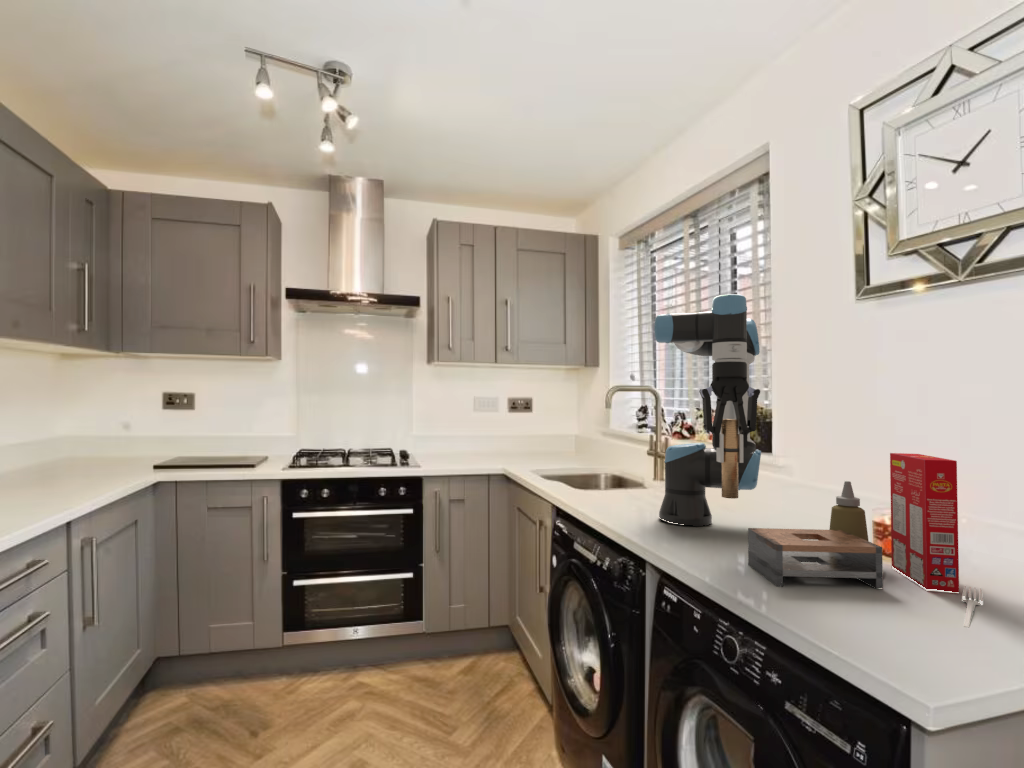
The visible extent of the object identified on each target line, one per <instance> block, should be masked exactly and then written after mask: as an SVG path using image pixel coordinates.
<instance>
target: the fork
mask: <svg viewBox="0 0 1024 768" xmlns="http://www.w3.org/2000/svg"><path fill="white" fill-rule="evenodd" d="M978 595H979V596H978V601H979V600H981V601H983V600H984V596H983V589H982V588H981V587H980V588H979V594H978ZM962 596H966V597H967V598H968V597H969V598H971V600H968V599H966V600H963V601H964V602H966V603H965V604H966V607H967V608H966V609H965V615H966V616H964V623H963V627H965V628H970V626H971V621H972V619H973V616H972V615H974V613H973V611H975V608H976V606H979V605H981V604H980V603H978V601H977V587H976V586H974V588H973V597H972V586H969V587H968V595H967V585H964V587H963V590H962V594H961V597H962ZM972 598H974V599H976V601H973V599H972ZM964 602H963V603H964ZM981 606H982V605H981ZM971 618H972V619H971Z"/></svg>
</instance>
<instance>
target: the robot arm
mask: <svg viewBox="0 0 1024 768" xmlns="http://www.w3.org/2000/svg"><path fill="white" fill-rule="evenodd" d="M711 307H712V308H711V311H703V312H702V311H701V312H687V313H682V312H681V313H665V314H659V315H656V317H655V318H654V330H653V331H654V339H655V341H656V342H657V343H659V344H660V343H661V344H671V343H672V344H674V346H675V347H676V348H677V349H678V350H679V351H681V352H683V353H686V354H691V355H695V356H700V357H711V359H712V361H713V363H712V365H711V367H712V369H711V371H712V372H711V373H712V377H711V378H712V381H711V382H710V386H707V387H704V388H699V393H700V396H701V400H702V419H703V420H702V421H703V430H704V431H707V432H710V433H711V435H712V441H711V442H712V443H711V445H712V447H713V448H710V447H707V446H706V444H705V443H704V442H693V443H682V444H676V445H669V446H668V447H667V448H666V450H665V457H664V497H663V499H662V502H661V505H660V507H659V508H660V509H659V510H658V511H659V512H658V518H659V517H660V518H661V519H664V520H666V521H669V522H673V523H678V524H684V525H693V526H692V527H703V525H705V526H709V524H710V525H711V524H712V523H713V521H712V520H713V519H712V518H713V516H712V512H711V509H710V507H709V503H708V500H707V498H706V497H707V496H706V488H709V489H710V488H711V489H722V463H724V434H721V425H722V420H723V419H737V420H738V448H739V452H738V491H751V490H752V491H753V490H755V489H756V488H757V486H758V481H759V473H760V463H761V457H762V450H759V449H757V448H756V446H757V445H756V444H757V443H755V441H753V440H752V439H751V433H752V432H756V430H757V418H758V417H757V416H758V398H759V397H760V394H761V389H759V388H753V387H751V386H750V365H751V364H753V362H754V361H755V357H756V356H758V355H760V342H759V334H758V327H757V324H756V321H755V320H754V319H752V318H747V317H748V315H747V314H748V313H747V311H748V306H747V298H746V297H745V295H743V294H737V293H736V294H733V293H731V294H721V295H717V296H715V297H714V298H713V299H712V306H711ZM712 392H713V393H714V395H715V397H716V404H715V405H716V406H715V410H714V411H715V412H714V417H713V416H712V415H713V414H712V413H713V412H712V398H711V396H712V395H713V394H712ZM712 417H713V418H712Z"/></svg>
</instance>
